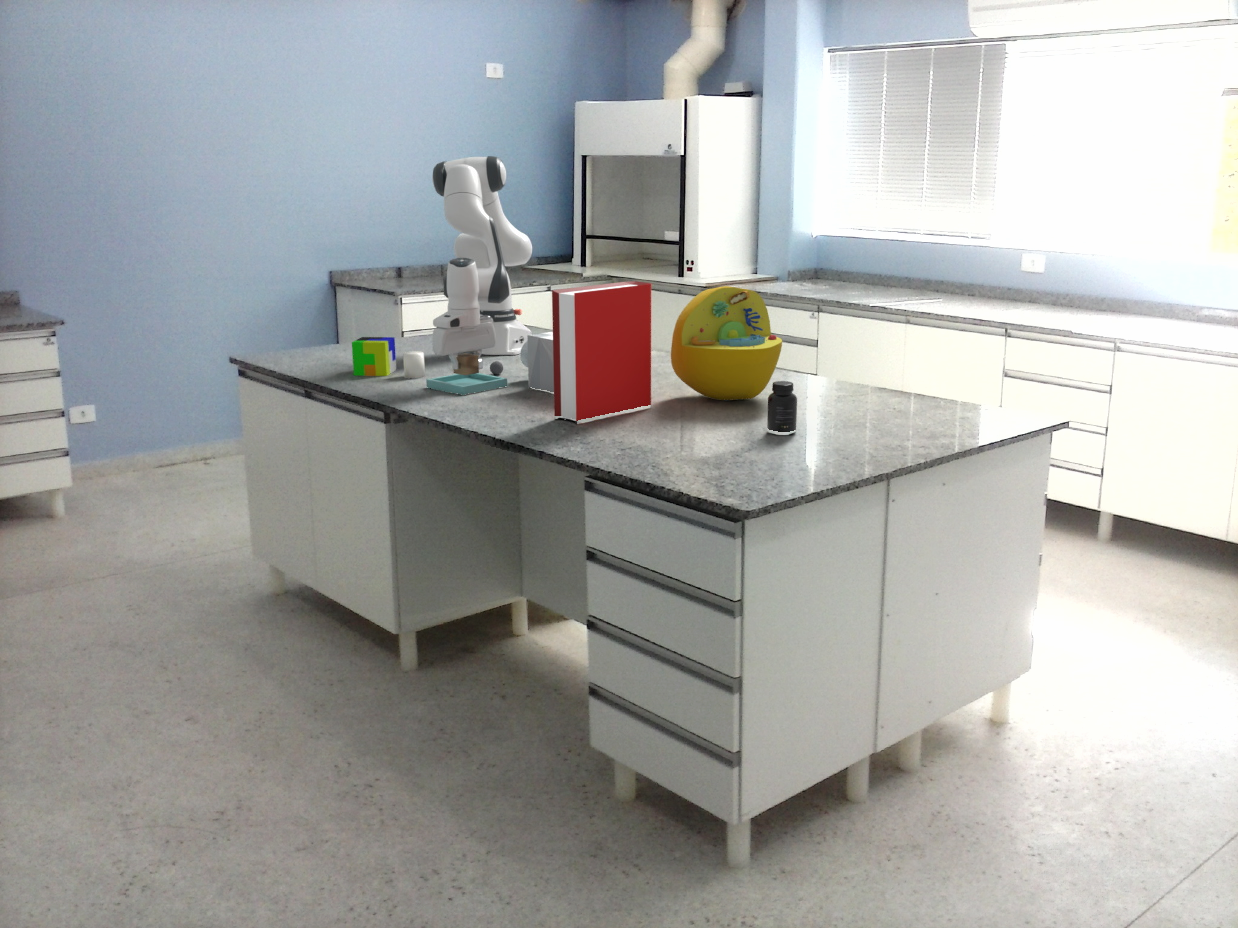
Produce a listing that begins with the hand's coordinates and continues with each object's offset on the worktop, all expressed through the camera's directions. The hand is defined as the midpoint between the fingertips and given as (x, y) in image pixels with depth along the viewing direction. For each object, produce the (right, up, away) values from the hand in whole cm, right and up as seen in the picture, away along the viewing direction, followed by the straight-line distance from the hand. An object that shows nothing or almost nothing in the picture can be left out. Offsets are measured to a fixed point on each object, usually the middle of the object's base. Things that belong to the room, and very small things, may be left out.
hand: (465, 367), depth 328 cm
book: (+39, -15, -31) cm, 52 cm away
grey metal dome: (-2, +2, +30) cm, 30 cm away
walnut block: (0, -2, 0) cm, 2 cm away
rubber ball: (+7, +1, +19) cm, 20 cm away
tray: (0, -5, +2) cm, 6 cm away
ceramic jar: (-17, -1, +17) cm, 25 cm away
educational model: (+71, -10, -17) cm, 74 cm away
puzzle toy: (-30, 0, +24) cm, 39 cm away
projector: (+29, -6, +1) cm, 30 cm away
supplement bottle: (+81, -20, -52) cm, 98 cm away
